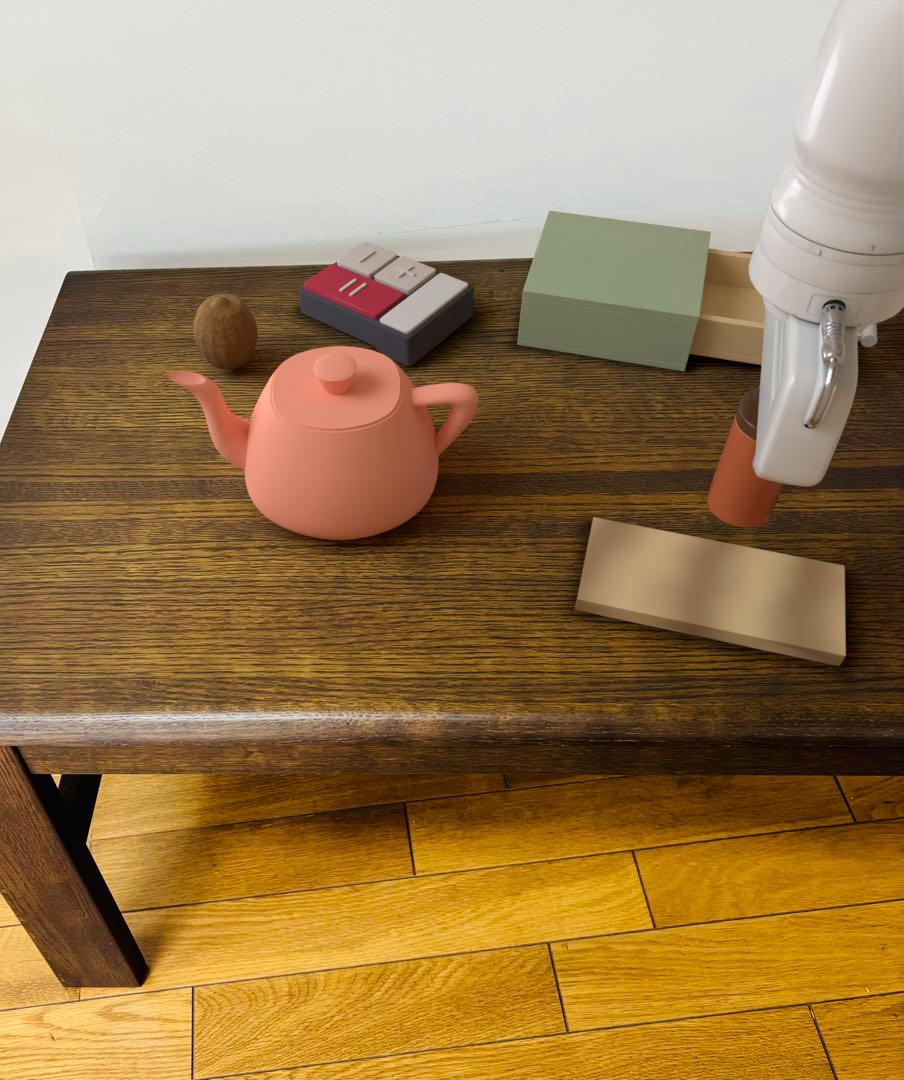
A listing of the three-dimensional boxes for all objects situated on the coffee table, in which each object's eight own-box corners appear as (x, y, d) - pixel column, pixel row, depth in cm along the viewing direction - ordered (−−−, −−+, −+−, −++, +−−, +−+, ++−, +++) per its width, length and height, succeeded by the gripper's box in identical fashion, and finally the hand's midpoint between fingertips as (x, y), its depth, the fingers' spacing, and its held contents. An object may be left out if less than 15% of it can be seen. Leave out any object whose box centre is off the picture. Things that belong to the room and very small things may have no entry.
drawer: (863, 305, 102) (880, 265, 99) (866, 389, 94) (884, 348, 90) (666, 277, 106) (675, 238, 103) (652, 355, 98) (662, 315, 94)
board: (838, 576, 81) (845, 565, 80) (839, 667, 75) (846, 655, 74) (591, 528, 85) (593, 516, 84) (574, 610, 79) (577, 598, 78)
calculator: (363, 235, 108) (476, 279, 101) (366, 269, 112) (475, 314, 104) (295, 282, 103) (408, 332, 96) (300, 317, 106) (410, 368, 99)
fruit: (187, 367, 100) (173, 301, 94) (231, 337, 103) (220, 271, 97) (230, 393, 98) (219, 326, 92) (274, 360, 101) (266, 294, 95)
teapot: (182, 555, 84) (151, 440, 74) (204, 420, 95) (181, 303, 85) (478, 551, 84) (488, 435, 73) (467, 416, 95) (474, 298, 84)
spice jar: (773, 487, 73) (812, 394, 66) (771, 533, 70) (811, 441, 63) (709, 475, 74) (741, 382, 67) (704, 520, 71) (737, 427, 64)
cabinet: (696, 286, 107) (711, 231, 102) (684, 371, 98) (699, 316, 93) (542, 264, 110) (549, 210, 105) (517, 344, 101) (522, 290, 96)
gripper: (904, 382, 49) (815, 559, 60) (889, 172, 62) (817, 349, 72) (771, 360, 51) (707, 538, 61) (783, 159, 63) (728, 335, 74)
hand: (767, 434), depth 67 cm, fingers closed on spice jar, 4 cm apart
